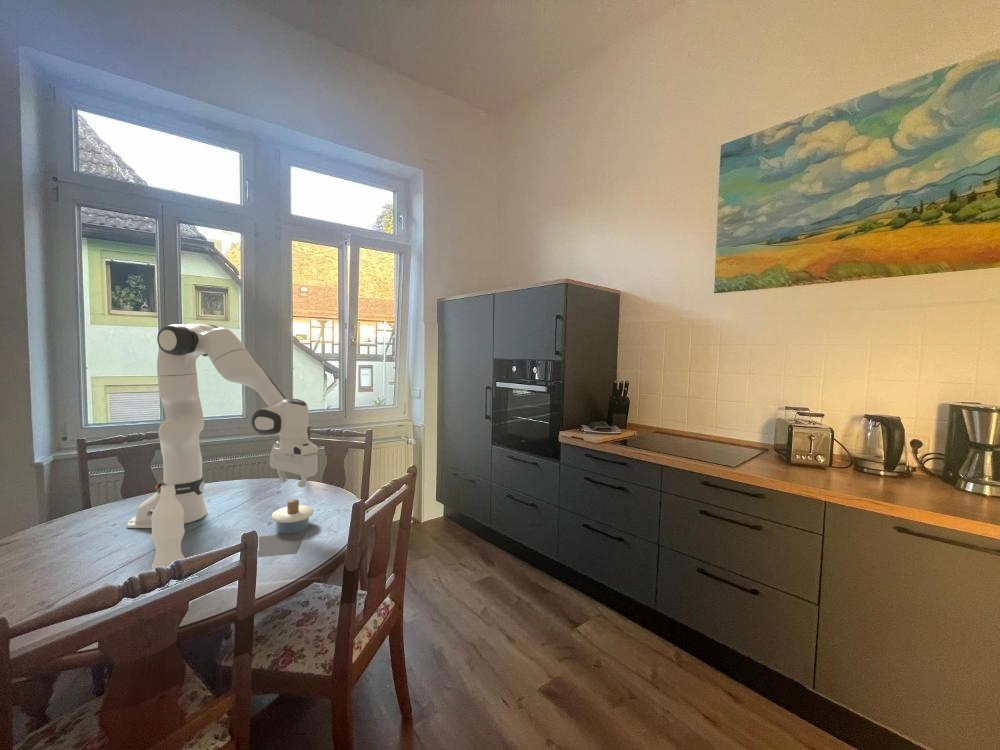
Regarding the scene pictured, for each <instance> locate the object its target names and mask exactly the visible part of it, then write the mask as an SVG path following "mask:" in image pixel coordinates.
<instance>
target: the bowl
mask: <svg viewBox="0 0 1000 750" xmlns="http://www.w3.org/2000/svg"><path fill="white" fill-rule="evenodd" d="M309 526H310V517H309V518H307V519H304V520H301V521H297V522H291V523H279V522H275V530H276V531H277V533H279V534H282V535H284V534H297V533H301V532H302V531H304V530H306V529H308V527H309Z"/></svg>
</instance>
